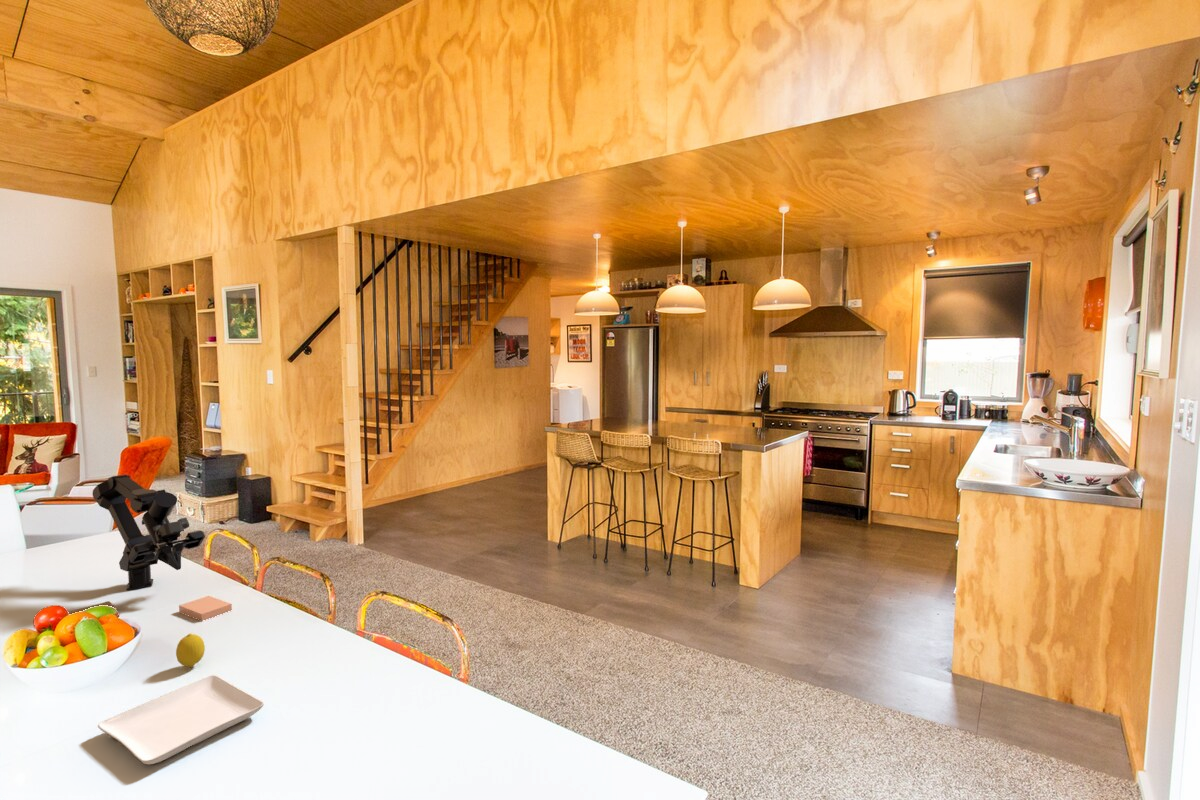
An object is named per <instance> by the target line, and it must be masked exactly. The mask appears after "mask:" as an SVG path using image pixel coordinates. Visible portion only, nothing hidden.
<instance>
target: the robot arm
mask: <svg viewBox="0 0 1200 800" xmlns="http://www.w3.org/2000/svg"><path fill="white" fill-rule="evenodd" d="M92 498H93V499H94V501H96V503H97V504H98V506H99V507H100V508H103V509H105V510H107V511H109V514H110V516H111V518H112V519H113V522H114V524H115V526H116V527H117V529H118V532H119V534H120V536H121V537H122V540H123V542H124V544H125V546H124V549H123V552H122V554H123V555H122V556H121V558H120V560H119V563H118V564H119V569H120V571H121V570H122V571H125V572H127V578H128V582H127V585H126V589H125V590H126V591H130V590H135V589H136V590H137V589H142V588H143V589H144V588H146V587H148V588H149V587H153V583H154V578H152V575H151V574H152V572H151V566H153V565H157V564H158V562H159V561H161V562H162V563H164V564H166V565H167V566H169V567H171V568H173V569H174V570H176V571H178V570H179V571H180V570H181V569H182V552H183V551H184V549H186V550H191V549H195V548H198V547H200V546H201V544H202V543H203V542H204V540H205V538H206V534H205V532H204V531H203V530H196V531H191V532H188V533H187V534H186V536H185V537H184V538H180V537H181V532H182V533H183V532H185V530H186V529H188V528H189V527H190V523H189V522H190V521H189V520H188V519H187V517H182V518H179V519H177V521H172V522H171V521H170V520H169V518H168V517H170V515H171V513H172V512H173V510H174V508H175V506H176V504H177V503H178V498H177V496H176V495H175V494H174V493H171V492H167V491H166V490H165V489H159V490H154V489H150V488H144V487H143V486H141V485H140V484H139V483H137V482H136V481H134V479H132V478H131V476H130V475H129V474H120V475H119V474H118V475H112V476H111V477H109V478H107V480H105V481H103V482H101V483H98V484H97V485H96V486H95V487H94V489H93V490H92ZM126 500H128V501H129V505H130V508H131V510H132V511H134V513H136V514H139V513H144V514H143V516H142V518H141V519H142V520H141V525H142V526H143V525H145V528H146V530H147V532H148V534H145V535H143V533H142V532H141V530H140V528H139V525H138V524H137V522H136V520H135V517H134V516H133V513H132V512H131V510H130V508H129V506H128V504H127V503H126Z"/></svg>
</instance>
